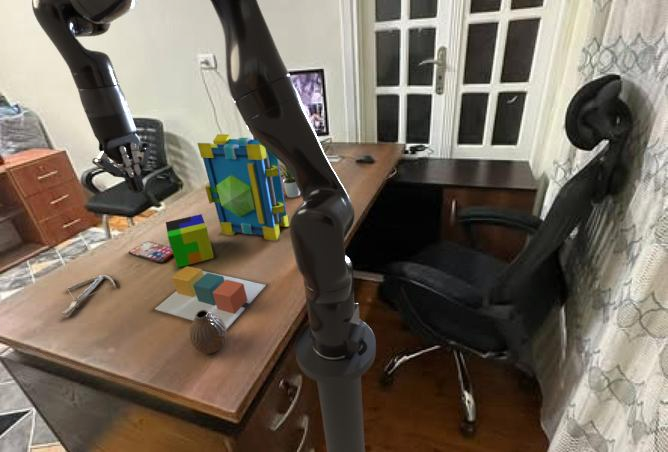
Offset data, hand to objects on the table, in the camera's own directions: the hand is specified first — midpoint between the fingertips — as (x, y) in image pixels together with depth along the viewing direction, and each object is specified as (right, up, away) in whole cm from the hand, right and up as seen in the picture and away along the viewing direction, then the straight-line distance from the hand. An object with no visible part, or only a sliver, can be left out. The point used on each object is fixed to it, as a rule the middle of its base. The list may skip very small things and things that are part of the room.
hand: (138, 191), depth 77 cm
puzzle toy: (+2, -16, +26) cm, 31 cm away
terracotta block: (+20, -26, +5) cm, 33 cm away
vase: (+18, -32, -5) cm, 38 cm away
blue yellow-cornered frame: (+18, -9, +37) cm, 42 cm away
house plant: (+26, +4, +60) cm, 66 cm away
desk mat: (+13, -25, +8) cm, 30 cm away
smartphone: (-11, -16, +29) cm, 35 cm away
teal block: (+14, -25, +8) cm, 30 cm away
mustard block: (+7, -24, +11) cm, 27 cm away
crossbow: (-20, -26, +13) cm, 35 cm away
